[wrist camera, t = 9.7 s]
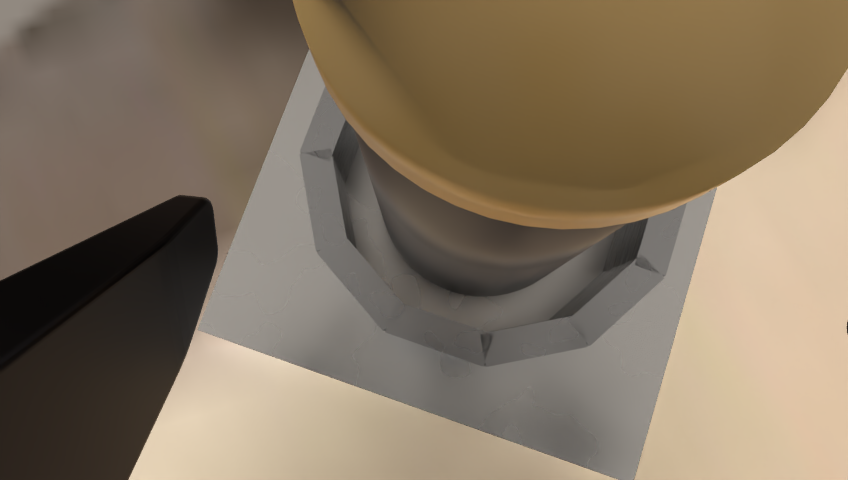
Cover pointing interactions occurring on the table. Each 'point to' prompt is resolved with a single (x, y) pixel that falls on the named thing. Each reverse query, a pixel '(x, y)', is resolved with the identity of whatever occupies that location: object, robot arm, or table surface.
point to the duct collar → (451, 305)
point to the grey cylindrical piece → (561, 115)
